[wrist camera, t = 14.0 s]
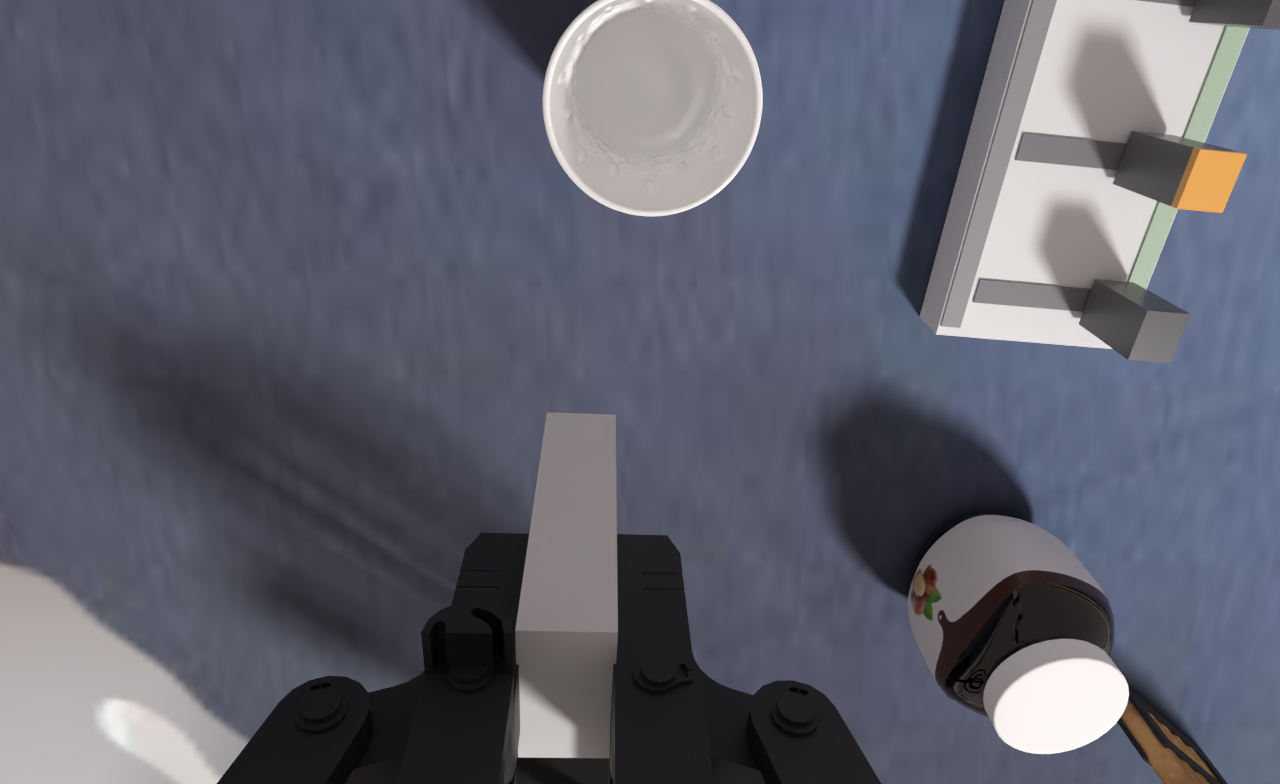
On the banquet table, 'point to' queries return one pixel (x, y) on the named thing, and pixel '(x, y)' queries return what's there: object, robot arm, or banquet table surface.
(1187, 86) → the breaker panel
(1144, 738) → the ammunition clip
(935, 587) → the spread jar
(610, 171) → the white cup
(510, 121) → the banquet table surface
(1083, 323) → the handle
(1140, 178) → the handle
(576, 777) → the desk fan
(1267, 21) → the handle
